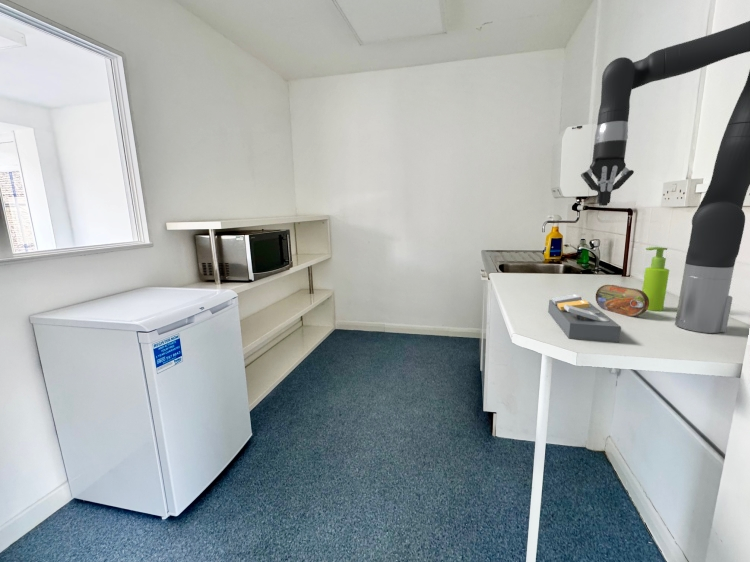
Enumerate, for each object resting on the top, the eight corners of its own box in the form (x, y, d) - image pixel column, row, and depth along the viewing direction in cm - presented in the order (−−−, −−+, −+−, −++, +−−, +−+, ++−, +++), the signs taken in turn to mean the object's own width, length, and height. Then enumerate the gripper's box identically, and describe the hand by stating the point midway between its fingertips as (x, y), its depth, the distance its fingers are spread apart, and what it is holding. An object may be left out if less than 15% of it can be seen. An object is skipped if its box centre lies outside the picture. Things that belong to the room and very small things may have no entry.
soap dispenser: (632, 306, 114) (640, 246, 110) (653, 306, 114) (662, 246, 110) (645, 311, 109) (654, 248, 105) (667, 311, 108) (678, 248, 104)
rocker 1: (577, 296, 103) (577, 293, 102) (581, 300, 99) (581, 296, 99) (552, 301, 105) (551, 297, 105) (555, 304, 101) (554, 301, 101)
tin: (593, 307, 114) (596, 282, 112) (600, 306, 115) (603, 281, 113) (641, 319, 100) (645, 291, 99) (648, 318, 101) (653, 291, 100)
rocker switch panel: (587, 314, 106) (588, 299, 105) (618, 342, 83) (621, 323, 82) (548, 312, 108) (549, 297, 108) (568, 338, 86) (570, 320, 85)
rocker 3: (591, 315, 90) (593, 312, 90) (596, 320, 86) (598, 316, 86) (563, 307, 91) (565, 303, 91) (567, 311, 87) (569, 307, 87)
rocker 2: (585, 303, 96) (584, 299, 96) (589, 307, 92) (589, 303, 92) (557, 306, 98) (557, 303, 98) (561, 310, 94) (560, 306, 94)
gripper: (631, 142, 97) (624, 205, 100) (579, 145, 100) (573, 206, 103) (644, 137, 89) (635, 204, 93) (587, 140, 93) (581, 205, 96)
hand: (602, 205), depth 98 cm, fingers closed
